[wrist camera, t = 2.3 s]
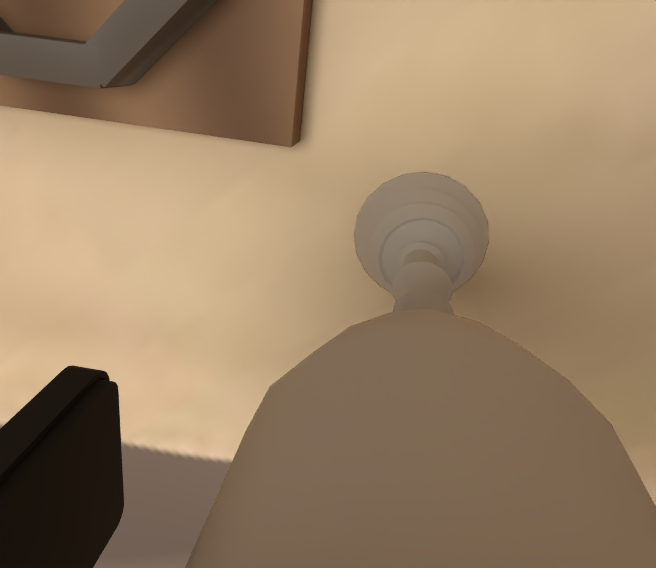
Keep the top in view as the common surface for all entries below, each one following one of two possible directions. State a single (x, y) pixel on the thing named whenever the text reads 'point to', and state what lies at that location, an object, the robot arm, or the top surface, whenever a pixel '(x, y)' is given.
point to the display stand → (161, 63)
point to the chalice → (427, 431)
